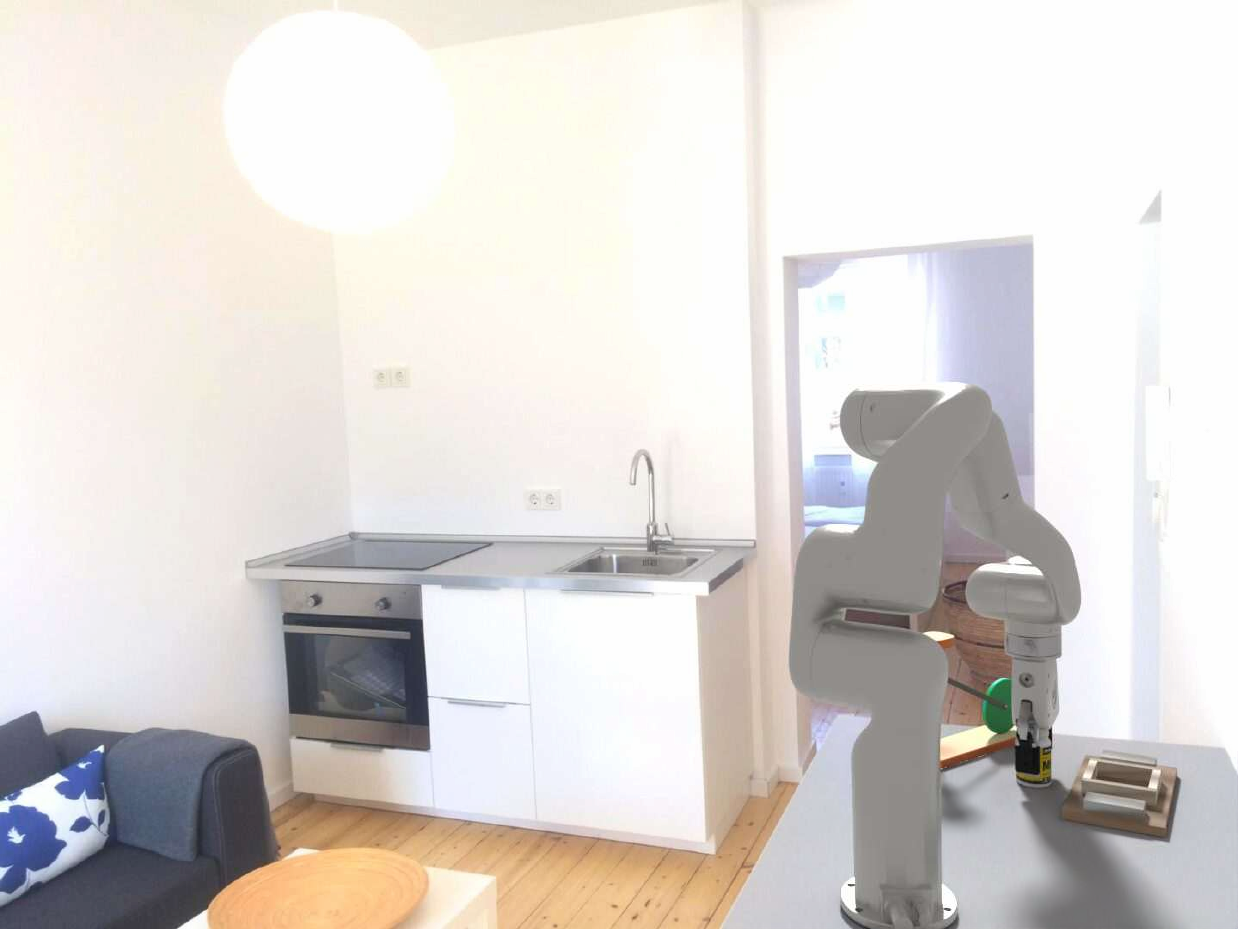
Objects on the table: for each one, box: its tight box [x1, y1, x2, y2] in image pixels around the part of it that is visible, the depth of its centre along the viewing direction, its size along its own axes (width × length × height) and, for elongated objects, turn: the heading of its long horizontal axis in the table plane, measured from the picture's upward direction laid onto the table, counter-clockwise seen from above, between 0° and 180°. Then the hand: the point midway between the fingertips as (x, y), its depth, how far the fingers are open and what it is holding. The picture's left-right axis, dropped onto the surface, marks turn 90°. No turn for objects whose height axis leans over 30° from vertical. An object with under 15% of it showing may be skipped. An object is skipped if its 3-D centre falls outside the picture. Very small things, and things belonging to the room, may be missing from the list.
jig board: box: [1061, 749, 1178, 838], centre depth 142 cm, size 22×12×3 cm, turn 148°
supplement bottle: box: [1015, 722, 1052, 789], centre depth 147 cm, size 5×5×8 cm
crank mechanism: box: [922, 631, 1017, 770], centre depth 162 cm, size 25×7×19 cm, turn 121°
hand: (1034, 760), depth 148 cm, fingers open, 9 cm apart
